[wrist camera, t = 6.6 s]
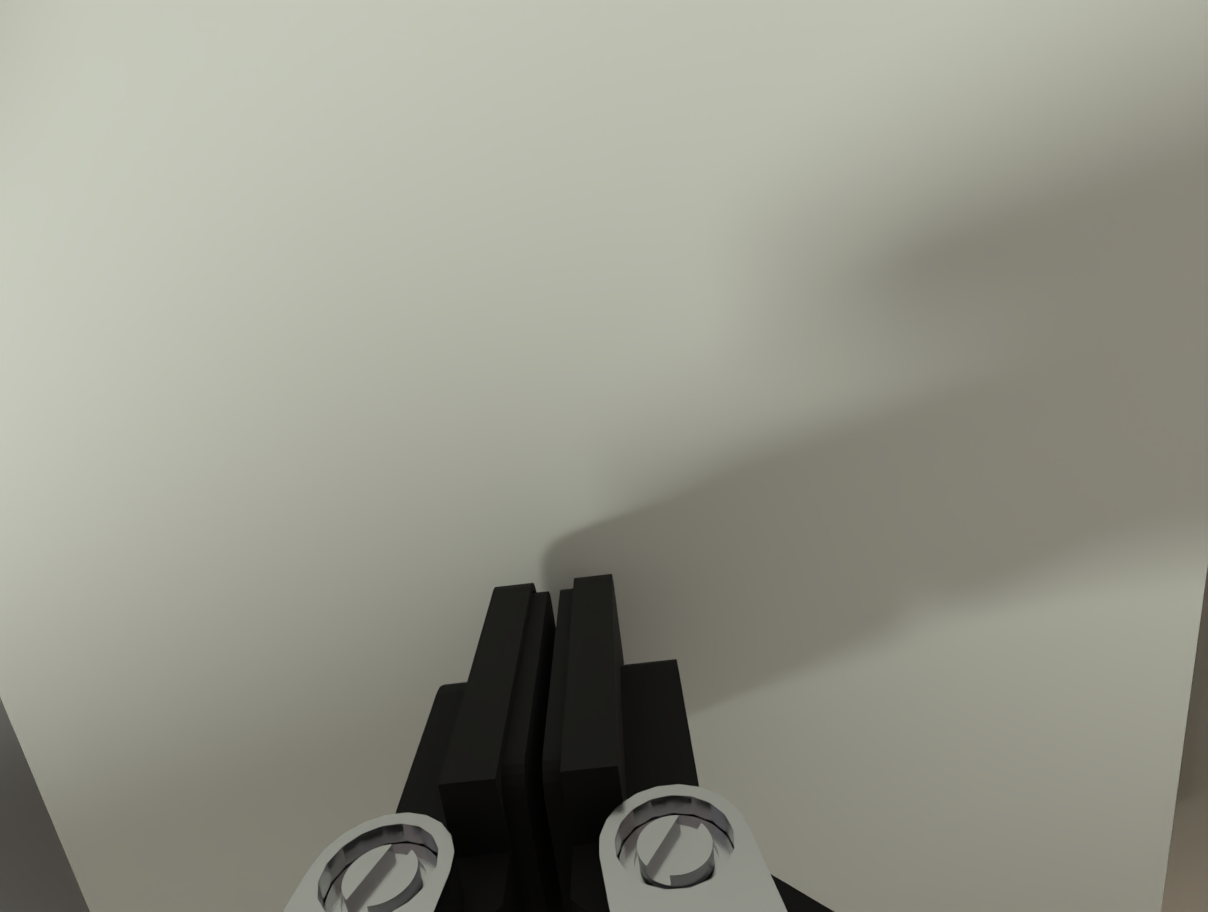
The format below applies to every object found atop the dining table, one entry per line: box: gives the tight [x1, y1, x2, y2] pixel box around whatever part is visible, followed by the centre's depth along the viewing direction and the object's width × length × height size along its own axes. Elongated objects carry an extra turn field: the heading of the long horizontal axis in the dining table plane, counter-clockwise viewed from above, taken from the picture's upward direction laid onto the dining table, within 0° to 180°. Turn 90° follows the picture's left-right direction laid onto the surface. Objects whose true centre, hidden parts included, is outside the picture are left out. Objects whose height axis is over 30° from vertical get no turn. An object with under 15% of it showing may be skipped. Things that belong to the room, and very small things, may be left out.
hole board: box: [0, 0, 1208, 912], centre depth 11 cm, size 30×18×3 cm, turn 7°
